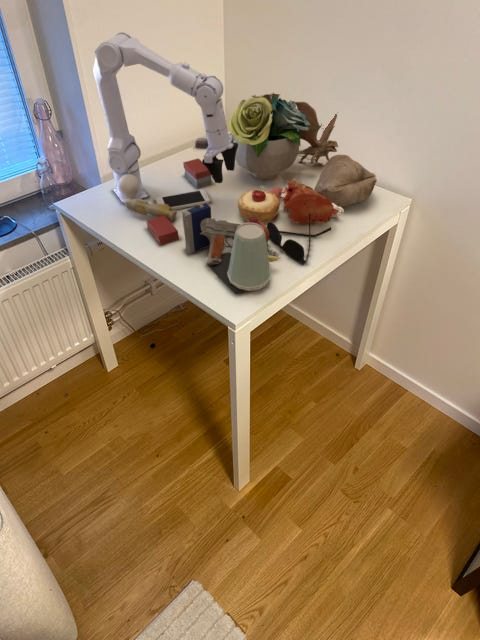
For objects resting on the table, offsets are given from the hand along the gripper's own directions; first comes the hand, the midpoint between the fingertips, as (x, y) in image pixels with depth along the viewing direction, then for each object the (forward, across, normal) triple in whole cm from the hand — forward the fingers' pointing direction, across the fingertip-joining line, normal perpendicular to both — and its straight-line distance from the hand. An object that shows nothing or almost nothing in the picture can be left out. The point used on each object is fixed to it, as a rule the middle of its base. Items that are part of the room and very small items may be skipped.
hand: (224, 176), depth 138 cm
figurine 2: (+12, +6, -12) cm, 18 cm away
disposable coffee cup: (-3, -29, -22) cm, 36 cm away
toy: (+13, -14, -19) cm, 27 cm away
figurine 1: (+7, -14, +19) cm, 24 cm away
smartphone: (+8, -2, +15) cm, 17 cm away
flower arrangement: (+11, +24, -1) cm, 26 cm away
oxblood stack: (+8, -20, +11) cm, 24 cm away
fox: (+10, -24, -19) cm, 32 cm away
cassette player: (+10, -21, -1) cm, 24 cm away
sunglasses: (+14, -8, -24) cm, 29 cm away
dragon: (+12, +34, -12) cm, 38 cm away
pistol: (+14, -22, -11) cm, 28 cm away
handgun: (+7, +28, +17) cm, 33 cm away
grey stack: (+8, +12, +17) cm, 22 cm away
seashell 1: (+6, 0, -16) cm, 18 cm away
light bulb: (+6, -12, +27) cm, 30 cm away
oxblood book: (+5, +12, +17) cm, 21 cm away
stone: (+11, -13, -3) cm, 17 cm away
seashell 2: (+15, +18, -28) cm, 37 cm away
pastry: (+12, 0, -9) cm, 15 cm away
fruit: (+12, -16, -14) cm, 25 cm away
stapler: (+11, +9, -26) cm, 30 cm away
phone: (+12, -28, -14) cm, 33 cm away
